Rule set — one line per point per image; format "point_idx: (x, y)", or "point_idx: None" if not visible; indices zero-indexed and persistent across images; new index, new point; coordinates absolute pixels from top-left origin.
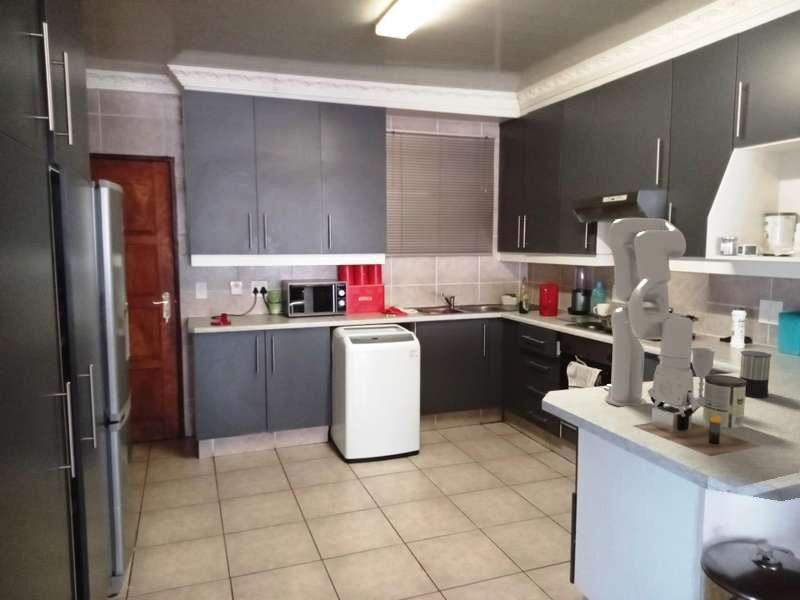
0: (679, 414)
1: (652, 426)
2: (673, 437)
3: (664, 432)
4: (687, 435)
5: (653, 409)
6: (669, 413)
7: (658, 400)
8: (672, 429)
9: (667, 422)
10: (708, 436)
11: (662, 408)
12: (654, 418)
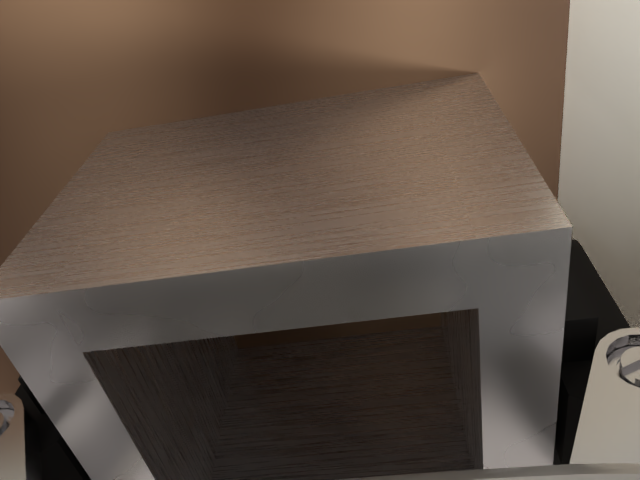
0: (55, 407)
1: (413, 39)
2: None
3: (123, 27)
4: (10, 234)
5: (523, 211)
6: (72, 285)
7: (515, 472)
8: (96, 152)
9: (166, 175)
10: (3, 388)
11: (476, 388)
12: (442, 128)
